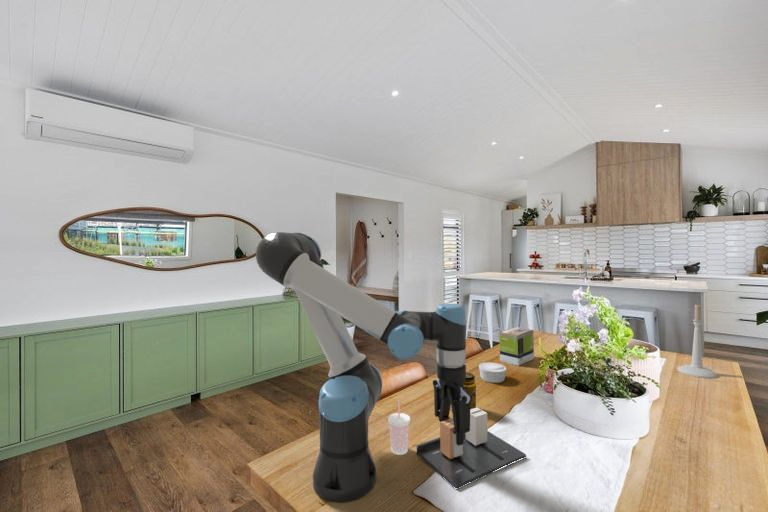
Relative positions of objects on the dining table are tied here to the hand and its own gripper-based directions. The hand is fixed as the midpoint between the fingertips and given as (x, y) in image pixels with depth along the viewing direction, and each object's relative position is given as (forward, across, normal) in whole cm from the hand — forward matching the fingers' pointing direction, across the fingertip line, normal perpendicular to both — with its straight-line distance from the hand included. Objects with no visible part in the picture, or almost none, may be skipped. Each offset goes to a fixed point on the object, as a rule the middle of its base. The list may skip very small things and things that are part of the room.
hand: (451, 450), depth 93 cm
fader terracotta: (+1, 0, 0) cm, 1 cm away
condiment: (+2, +19, -22) cm, 29 cm away
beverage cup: (+2, +10, +10) cm, 14 cm away
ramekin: (+2, +35, -51) cm, 61 cm away
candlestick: (+2, -4, -132) cm, 132 cm away
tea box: (+2, +46, -78) cm, 91 cm away
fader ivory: (+1, +1, -10) cm, 10 cm away
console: (+2, -2, -5) cm, 6 cm away
